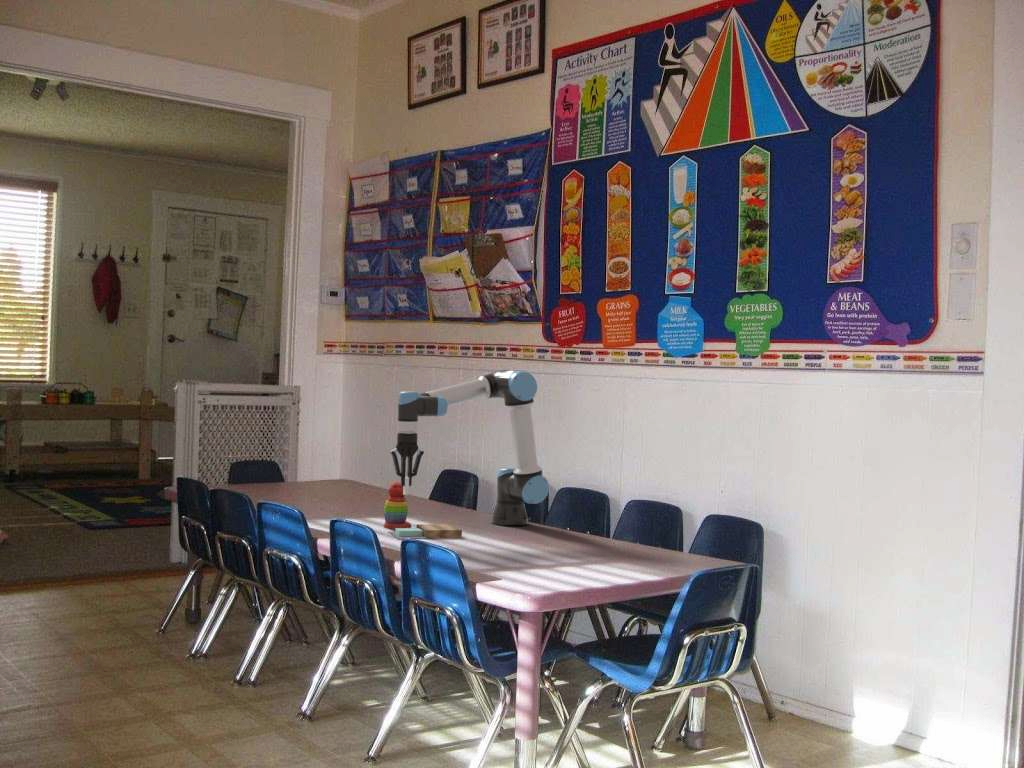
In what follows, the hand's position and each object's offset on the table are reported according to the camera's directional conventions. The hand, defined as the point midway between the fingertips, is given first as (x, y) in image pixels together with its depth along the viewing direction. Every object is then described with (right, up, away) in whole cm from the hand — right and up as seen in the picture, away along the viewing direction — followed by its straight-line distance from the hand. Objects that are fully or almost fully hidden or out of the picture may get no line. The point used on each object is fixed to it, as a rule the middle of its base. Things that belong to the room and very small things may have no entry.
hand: (405, 494), depth 417 cm
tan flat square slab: (+12, -16, +5) cm, 21 cm away
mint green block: (+1, -15, +1) cm, 15 cm away
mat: (0, -16, +1) cm, 16 cm away
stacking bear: (-6, -15, +19) cm, 25 cm away
